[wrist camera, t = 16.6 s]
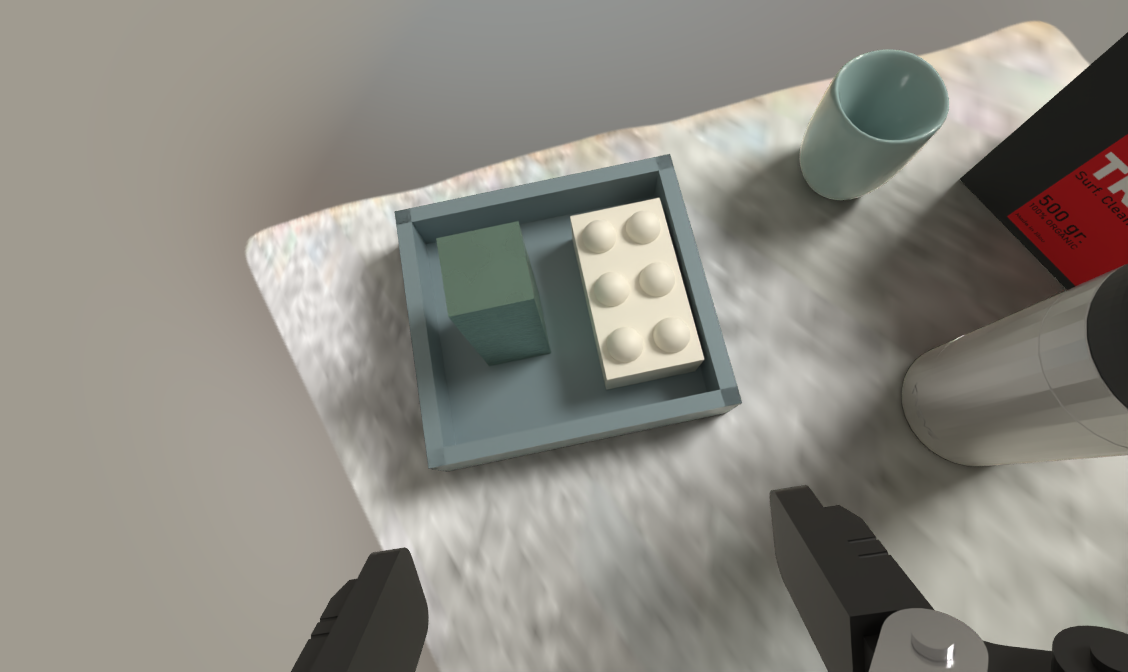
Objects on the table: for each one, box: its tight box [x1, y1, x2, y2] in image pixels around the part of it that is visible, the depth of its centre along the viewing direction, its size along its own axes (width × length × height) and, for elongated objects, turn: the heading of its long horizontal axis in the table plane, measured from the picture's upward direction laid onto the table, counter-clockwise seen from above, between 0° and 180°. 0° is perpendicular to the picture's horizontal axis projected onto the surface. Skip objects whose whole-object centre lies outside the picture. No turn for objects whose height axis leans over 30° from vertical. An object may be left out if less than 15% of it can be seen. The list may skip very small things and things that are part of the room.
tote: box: [395, 154, 742, 472], centre depth 45 cm, size 22×20×5 cm
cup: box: [799, 50, 949, 200], centre depth 44 cm, size 8×8×10 cm
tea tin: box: [436, 221, 551, 366], centre depth 40 cm, size 5×5×13 cm
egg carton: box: [570, 198, 704, 390], centre depth 43 cm, size 7×13×5 cm, turn 12°
